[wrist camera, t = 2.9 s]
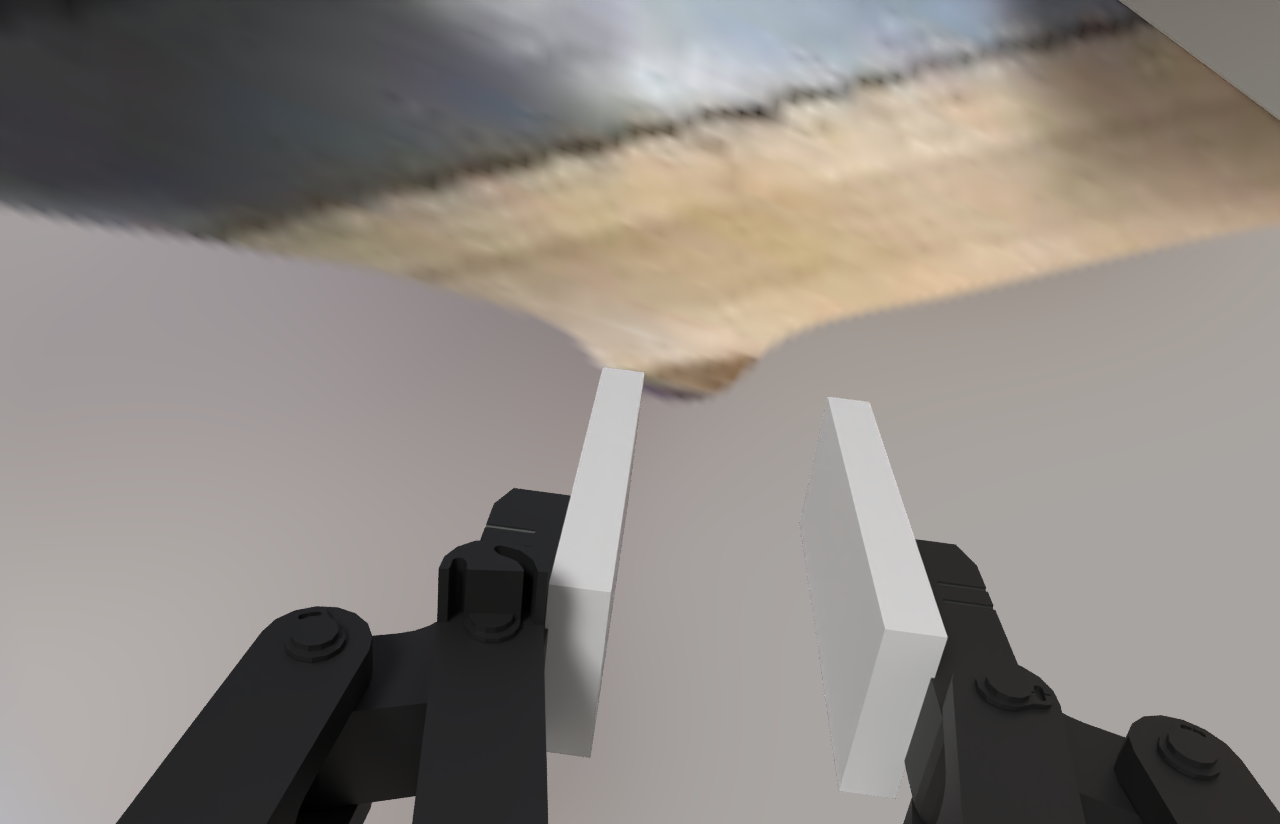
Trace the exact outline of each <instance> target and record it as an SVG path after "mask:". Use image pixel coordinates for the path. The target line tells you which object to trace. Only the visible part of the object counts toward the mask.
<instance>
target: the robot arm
mask: <svg viewBox="0 0 1280 824" xmlns="http://www.w3.org/2000/svg"><path fill="white" fill-rule="evenodd" d="M644 373H645V372H637V371H630V370H622V369H614V368H607V367H603V369H602V373H601V377H600V381H599V385H598V389H597V393H596V397H595V401H594V405H593V409H592V413H591V417H590V421H589V425H588V429H587V433H586V437H585V441H584V445H583V449H582V453H581V457H580V461H579V465H578V469H577V473H576V478H575V481H574V485H573V489H572V494H571V496H569V495H562V494H554V493H547V492H539V491H532V490H524V489H517V488H513V489H512V490H511V491H509V492H508V493H507V494H506V495H505V496H503V497H502V498H501V499H499V500H498V501H497V502H496V503H494V505H493V508H492V510H491V513H490V516H489V518H488V521H487V524H486V527H485V529H484V532H483V534H482V537H481V540H480V541H473V542H470V543H467V544H464V545H462V546H458V547H456V548H455V549H454V550H452V551H451V552H450V553H448V554H447V555H446V556H445V557H444V559H443V561H442V563H441V565H440V567H439V577H438V581H439V582H438V613H437V622H435V623H434V624H432V625H430V626H427V627H424V628H422V629H418V630H416V631H410V632H404V633H398V634H387V635H376V636H372V634H371V631H370V628H369V626H368V623H366V622H365V621H364V620H363V619H361V618H360V617H359V616H358V615H357V614H355V613H353V612H350V611H347V610H344V609H341V608H337V607H318V606H316V607H311V608H306V609H300V610H295V611H293V612H290V613H288V614H286V615H284V616H282V617H280V618H277V619H275V620H274V621H273V622H272V623H271V624H270V625H269V626H268V627H266V628H265V629H264V630H263V631H262V632H261V634H260V635H259V636H258V637H257V639H256V640H255V642H254V643H253V644H252V645H251V647H250V648H249V649H248V651H247V652H246V653H245V655H244V656H243V657H242V659H241V660H240V661H239V663H238V664H237V665H236V666H235V668H234V669H233V670H232V672H231V673H230V674H229V676H228V677H227V678H226V680H225V681H224V682H223V684H222V685H221V686H220V687H219V689H218V690H217V691H216V693H215V694H214V696H213V697H212V698H211V699H210V701H209V702H208V703H207V705H206V706H205V707H204V708H203V710H202V711H201V712H200V714H199V715H198V717H197V718H196V719H195V720H194V722H193V723H192V724H191V726H190V727H189V728H188V730H187V731H186V732H185V733H184V735H183V736H182V738H181V739H180V740H179V741H178V743H177V744H176V745H175V747H174V748H173V749H172V751H171V752H170V753H169V754H168V756H167V757H166V758H165V760H164V761H163V762H162V764H161V765H160V766H159V768H158V769H157V770H156V772H155V773H154V774H153V776H152V777H151V778H150V779H149V781H148V782H147V783H146V785H145V786H144V787H143V789H142V790H141V791H140V793H139V794H138V795H137V796H136V798H135V799H134V801H133V802H132V803H131V804H130V806H129V807H128V808H127V810H126V811H125V812H124V814H123V815H122V816H121V818H120V819H119V820H118V822H117V823H116V824H363V823H364V820H365V819H366V816H367V814H368V812H369V810H370V808H371V803H372V802H377V801H384V800H391V799H397V798H404V797H412V796H416V798H415V806H414V814H413V822H412V824H548V800H547V759H546V752H553V753H560V754H567V755H575V756H582V757H589V758H590V757H591V750H592V743H593V736H594V729H595V723H596V715H597V709H598V702H599V695H600V689H601V682H602V675H603V668H604V661H605V654H606V648H607V641H608V634H609V628H610V621H611V613H612V607H613V600H614V593H615V587H616V580H617V572H618V566H619V560H620V553H621V546H622V539H623V531H624V526H625V519H626V511H627V505H628V498H629V490H630V482H631V475H632V467H633V459H634V450H635V443H636V435H637V428H638V420H639V411H640V404H641V396H642V388H643V381H644ZM800 530H801V537H802V544H803V550H804V557H805V564H806V570H807V578H808V584H809V591H810V598H811V605H812V612H813V618H814V625H815V632H816V639H817V646H818V652H819V659H820V666H821V673H822V679H823V686H824V693H825V700H826V706H827V714H828V720H829V727H830V733H831V741H832V748H833V754H834V761H835V768H836V775H837V782H838V789H839V791H841V792H848V793H856V794H863V795H870V796H877V797H885V798H892V799H896V796H897V793H898V790H899V787H900V784H901V781H902V777H903V774H904V771H905V768H906V771H907V775H908V780H909V784H910V788H911V793H912V799H911V802H910V805H909V808H908V811H907V814H906V817H905V820H904V823H903V824H1280V813H1279V811H1278V810H1277V809H1276V807H1275V806H1274V804H1273V803H1272V802H1271V800H1270V799H1269V797H1268V796H1267V795H1266V793H1265V792H1264V791H1263V789H1262V788H1261V786H1260V785H1259V784H1258V782H1257V781H1256V779H1255V778H1254V777H1253V775H1252V774H1251V773H1250V771H1249V770H1248V768H1247V767H1246V766H1245V764H1244V763H1243V761H1242V760H1241V759H1240V758H1239V757H1238V756H1237V755H1236V754H1235V753H1234V752H1233V751H1232V750H1231V749H1230V747H1229V746H1228V745H1227V744H1225V743H1224V742H1223V741H1221V740H1220V739H1218V738H1217V737H1215V736H1214V735H1212V734H1211V733H1209V732H1208V731H1206V730H1205V729H1202V728H1200V727H1198V726H1196V725H1193V724H1191V723H1189V722H1186V721H1184V720H1181V719H1176V718H1172V717H1167V716H1162V715H1159V716H1145V717H1142V718H1140V719H1139V720H1137V721H1136V722H1134V723H1132V725H1131V727H1130V730H1129V732H1128V734H1127V736H1126V738H1125V737H1122V736H1119V735H1117V734H1114V733H1111V732H1108V731H1105V730H1102V729H1100V728H1097V727H1094V726H1091V725H1088V724H1086V723H1083V722H1081V721H1078V720H1076V719H1074V718H1071V717H1069V716H1067V715H1065V714H1063V713H1062V711H1061V706H1060V704H1059V702H1058V700H1057V698H1056V695H1055V694H1054V691H1053V690H1052V689H1051V688H1050V687H1049V686H1048V685H1046V683H1045V682H1044V681H1043V680H1042V679H1041V678H1040V677H1038V676H1036V675H1035V674H1033V673H1032V672H1030V671H1028V670H1027V669H1025V668H1023V667H1022V666H1019V665H1018V664H1017V661H1016V659H1015V656H1014V654H1013V652H1012V649H1011V647H1010V644H1009V642H1008V639H1007V637H1006V635H1005V632H1004V630H1003V628H1002V625H1001V623H1000V620H999V618H998V616H997V613H996V611H995V610H993V603H992V601H991V599H990V596H989V594H988V592H986V590H985V589H986V586H985V584H984V582H983V579H982V577H981V575H980V572H979V570H978V567H977V565H976V564H975V563H974V562H973V561H972V560H971V559H970V558H969V557H967V555H966V554H964V552H963V551H962V550H961V549H959V547H957V546H956V545H954V544H947V543H939V542H932V541H925V540H916V539H915V538H914V535H913V532H912V529H911V526H910V523H909V520H908V517H907V514H906V511H905V508H904V505H903V502H902V500H901V496H900V493H899V490H898V487H897V484H896V481H895V478H894V475H893V472H892V469H891V466H890V463H889V460H888V457H887V454H886V451H885V448H884V445H883V442H882V439H881V436H880V433H879V430H878V427H877V423H876V420H875V417H874V415H873V411H872V408H871V406H870V403H869V402H864V401H857V400H849V399H842V398H834V397H827V402H826V406H825V411H824V416H823V420H822V425H821V429H820V433H819V438H818V443H817V447H816V452H815V456H814V461H813V465H812V469H811V474H810V479H809V483H808V488H807V492H806V497H805V501H804V506H803V510H802V515H801V519H800Z"/></svg>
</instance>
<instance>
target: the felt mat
mask: <svg viewBox="0 0 1280 824" xmlns="http://www.w3.org/2000/svg"><path fill="white" fill-rule="evenodd" d="M1119 1H1120V2H1122V3H1123V4H1124V5H1126V6H1127V7H1128V8H1130V9H1131V10H1132V11H1134V12H1135V13H1136V14H1138V15H1139V16H1140V17H1142V18H1143V19H1144V20H1146V21H1147V22H1148V23H1150V24H1151V25H1152V26H1154V27H1155V28H1156V29H1158V30H1159V31H1160V32H1162V33H1163V34H1164V35H1166V36H1167V37H1168V38H1170V39H1171V40H1172V41H1174V42H1175V43H1176V44H1178V45H1179V46H1180V47H1182V48H1183V49H1184V50H1186V51H1187V52H1188V53H1190V54H1191V55H1192V56H1194V57H1195V58H1196V59H1198V60H1199V61H1200V62H1202V63H1203V64H1204V65H1206V66H1207V67H1208V68H1210V69H1211V70H1212V71H1214V72H1215V73H1217V74H1218V75H1219V76H1221V77H1222V78H1223V79H1225V80H1226V81H1227V82H1229V83H1230V84H1231V85H1233V86H1234V87H1235V88H1237V89H1238V90H1239V91H1241V92H1242V93H1243V94H1245V95H1246V96H1247V97H1249V98H1250V99H1251V100H1253V101H1254V102H1255V103H1257V104H1258V105H1259V106H1261V107H1262V108H1263V109H1265V110H1266V111H1267V112H1269V113H1270V114H1271V115H1273V116H1274V117H1275V118H1277V119H1278V120H1279V121H1280V0H1119Z"/></svg>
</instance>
